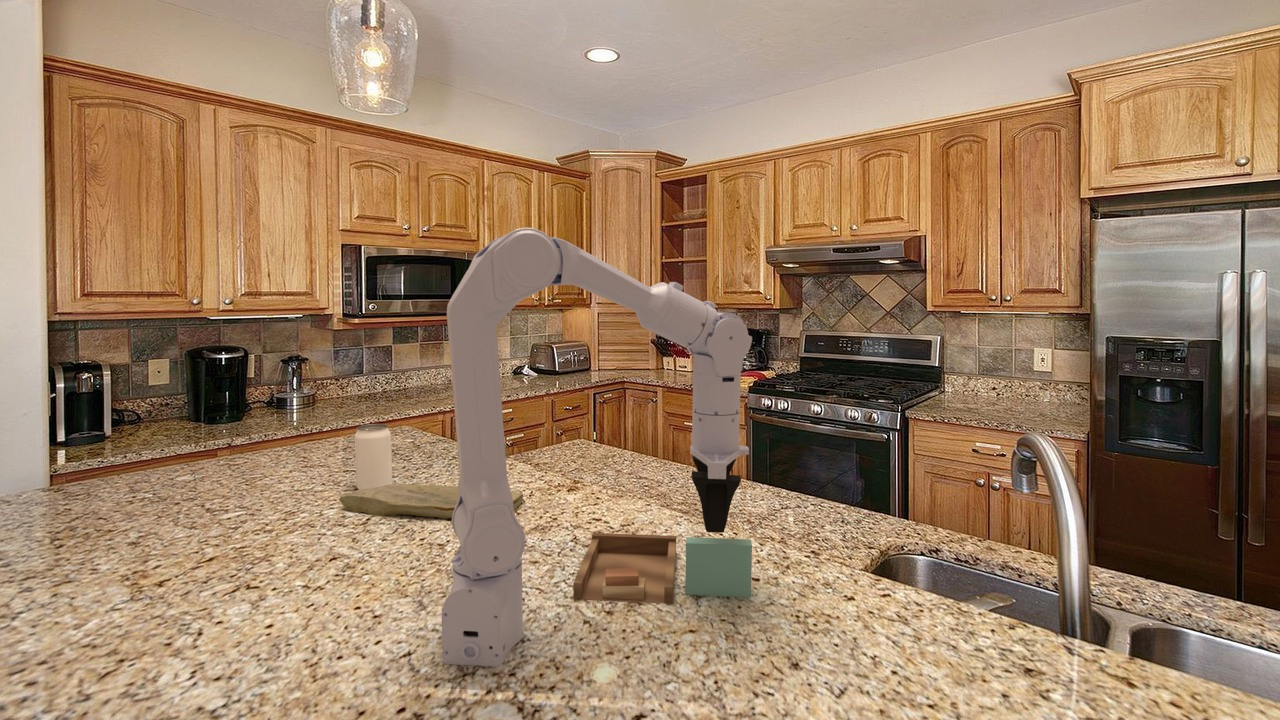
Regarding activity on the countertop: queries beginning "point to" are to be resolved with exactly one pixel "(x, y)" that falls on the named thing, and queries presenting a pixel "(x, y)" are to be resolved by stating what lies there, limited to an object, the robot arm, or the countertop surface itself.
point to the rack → (628, 565)
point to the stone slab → (408, 500)
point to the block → (718, 567)
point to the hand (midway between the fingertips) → (714, 520)
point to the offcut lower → (625, 591)
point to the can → (373, 456)
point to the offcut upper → (622, 577)
